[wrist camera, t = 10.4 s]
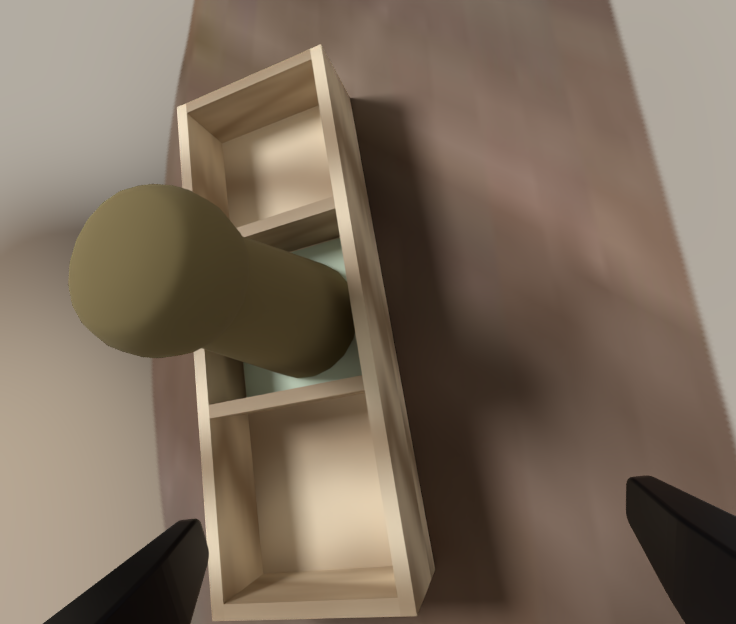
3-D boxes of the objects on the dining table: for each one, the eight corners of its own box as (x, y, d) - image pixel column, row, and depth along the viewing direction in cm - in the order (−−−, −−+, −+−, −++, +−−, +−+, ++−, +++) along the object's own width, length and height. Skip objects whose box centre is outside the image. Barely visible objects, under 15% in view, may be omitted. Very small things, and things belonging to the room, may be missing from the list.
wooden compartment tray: (435, 569, 19) (417, 616, 15) (265, 579, 21) (212, 620, 17) (349, 97, 24) (320, 44, 20) (223, 146, 27) (177, 107, 23)
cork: (234, 353, 22) (1, 324, 12) (276, 248, 23) (83, 132, 12) (331, 397, 20) (147, 407, 10) (375, 280, 20) (242, 173, 10)
